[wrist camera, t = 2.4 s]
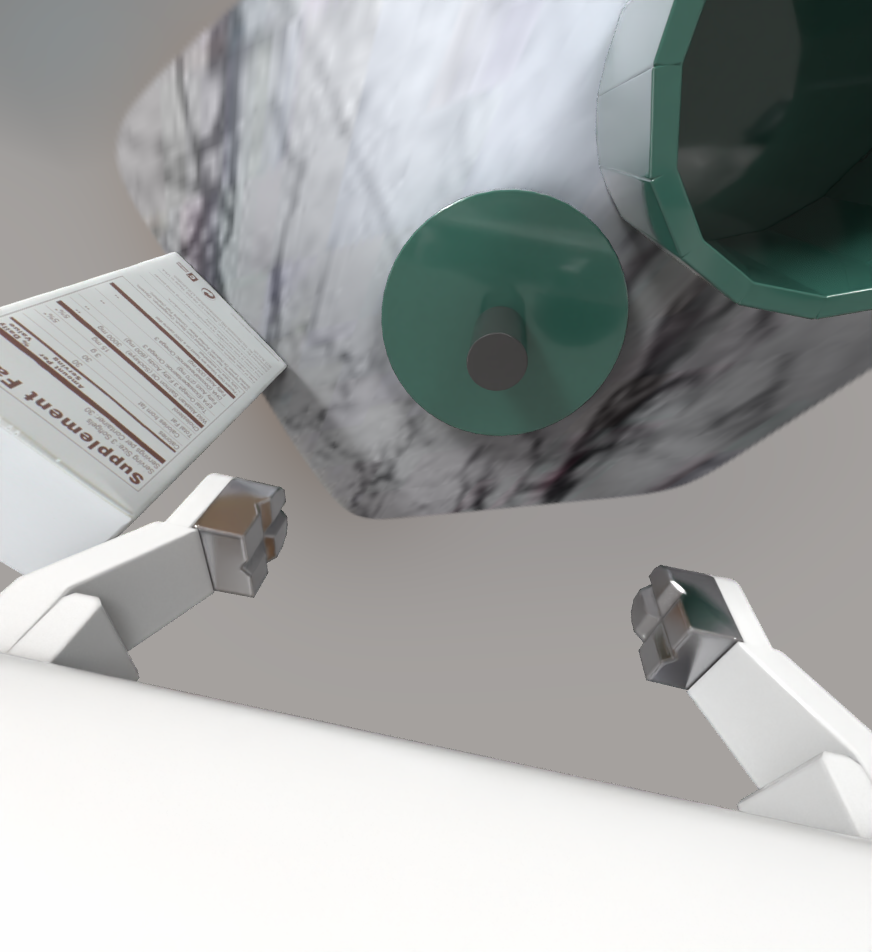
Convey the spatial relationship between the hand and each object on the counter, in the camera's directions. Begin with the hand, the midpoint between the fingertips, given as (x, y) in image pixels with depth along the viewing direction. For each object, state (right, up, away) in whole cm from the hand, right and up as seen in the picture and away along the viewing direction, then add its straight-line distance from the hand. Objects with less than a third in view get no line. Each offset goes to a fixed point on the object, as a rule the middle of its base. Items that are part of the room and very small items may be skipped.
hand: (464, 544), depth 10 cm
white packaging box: (-13, +8, +15) cm, 22 cm away
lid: (+2, +8, +11) cm, 14 cm away
